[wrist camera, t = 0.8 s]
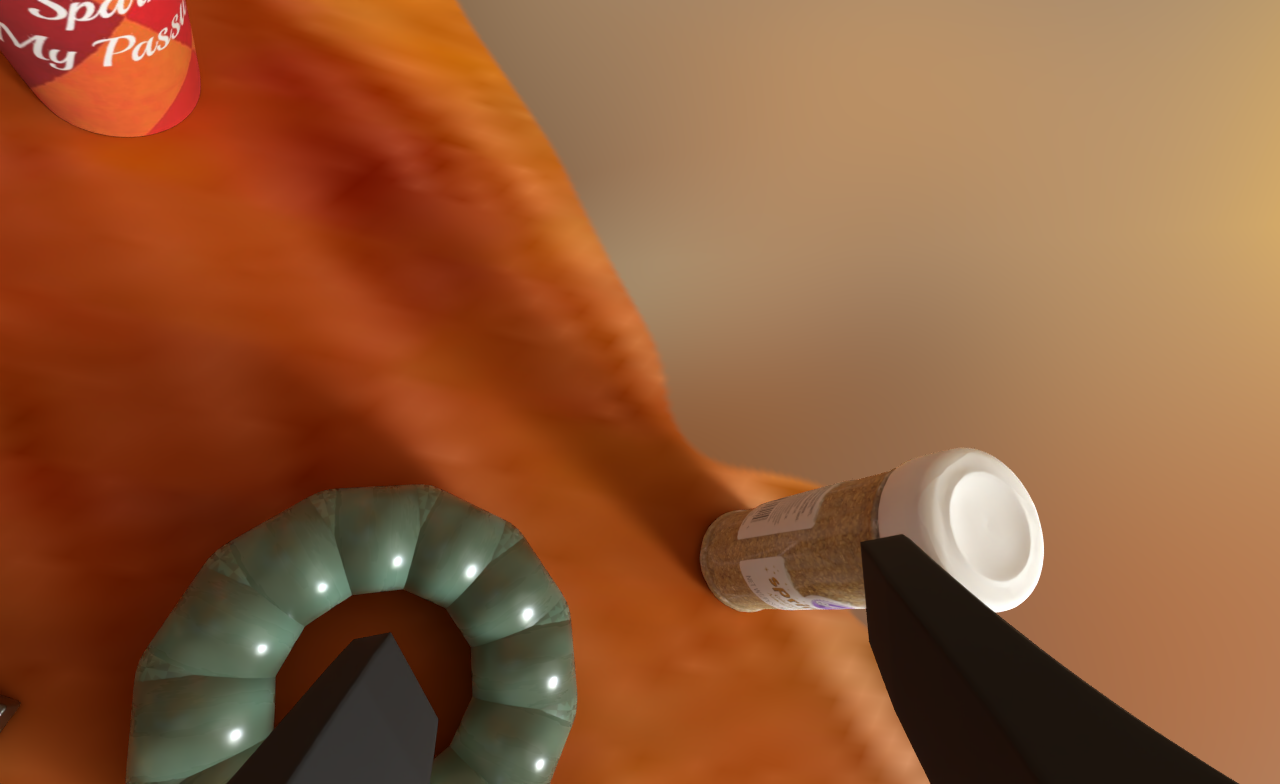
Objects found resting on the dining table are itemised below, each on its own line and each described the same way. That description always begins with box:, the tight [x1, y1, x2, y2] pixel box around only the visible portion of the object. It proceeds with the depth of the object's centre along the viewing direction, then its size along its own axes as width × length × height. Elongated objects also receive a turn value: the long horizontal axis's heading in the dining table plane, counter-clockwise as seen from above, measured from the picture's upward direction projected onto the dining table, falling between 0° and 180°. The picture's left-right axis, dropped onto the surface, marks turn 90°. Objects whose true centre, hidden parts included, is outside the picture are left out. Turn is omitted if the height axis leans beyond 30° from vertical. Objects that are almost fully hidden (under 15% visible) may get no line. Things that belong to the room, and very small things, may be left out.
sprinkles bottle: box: [699, 448, 1044, 612], centre depth 24 cm, size 5×5×13 cm
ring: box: [125, 484, 577, 784], centre depth 21 cm, size 13×13×4 cm
